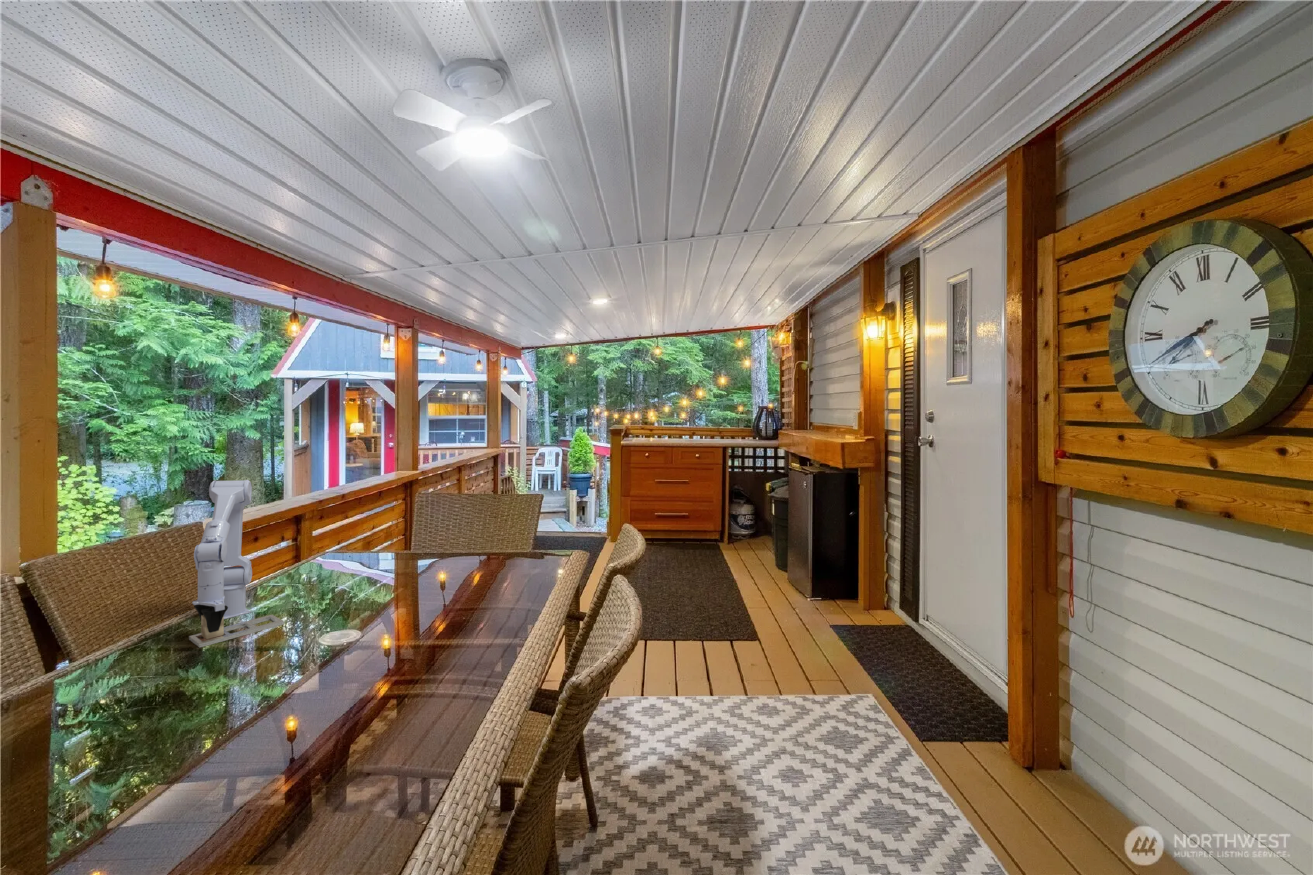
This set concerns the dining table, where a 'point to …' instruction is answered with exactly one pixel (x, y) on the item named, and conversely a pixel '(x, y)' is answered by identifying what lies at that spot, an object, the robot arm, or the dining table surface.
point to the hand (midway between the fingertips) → (210, 629)
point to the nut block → (208, 635)
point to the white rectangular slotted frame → (203, 642)
